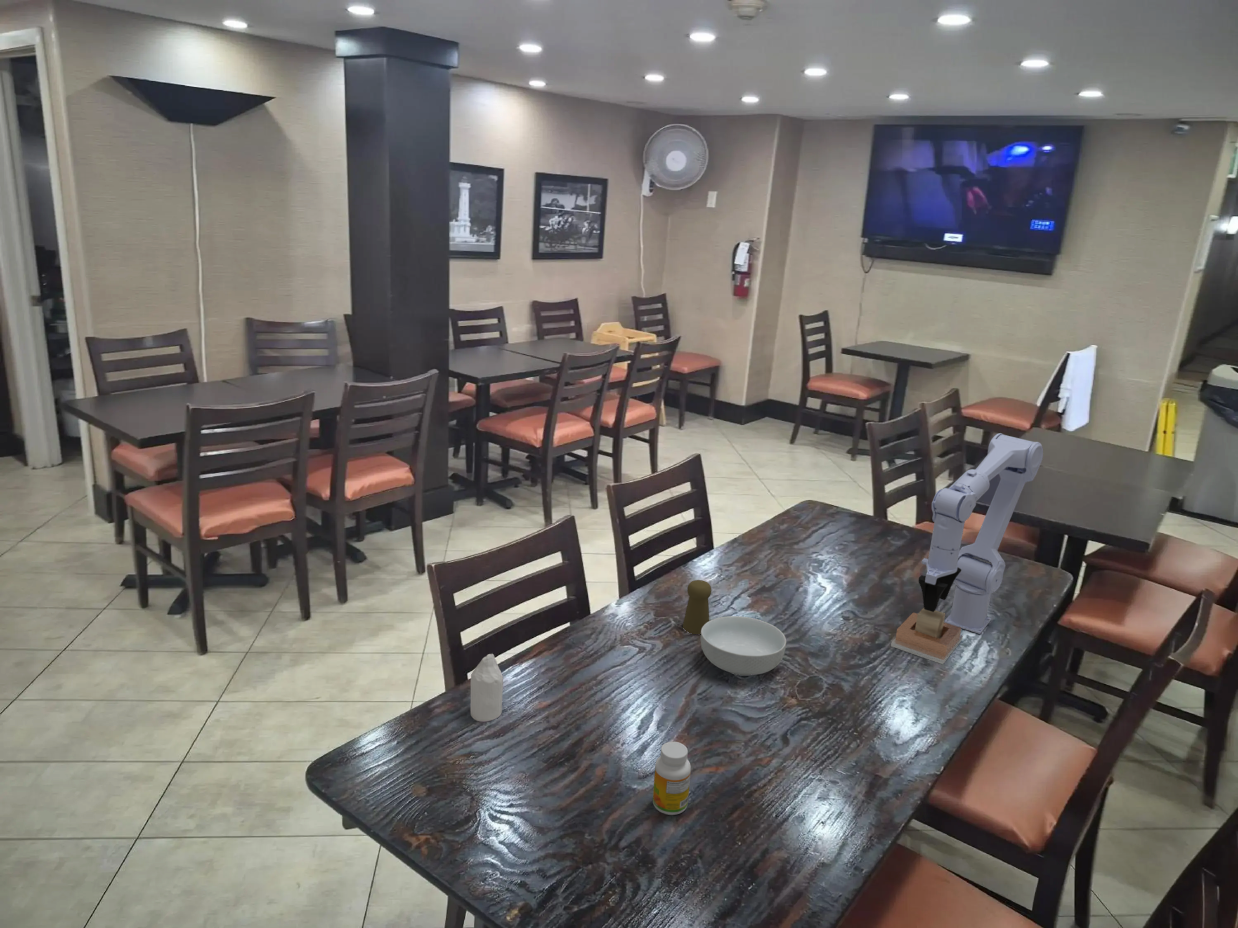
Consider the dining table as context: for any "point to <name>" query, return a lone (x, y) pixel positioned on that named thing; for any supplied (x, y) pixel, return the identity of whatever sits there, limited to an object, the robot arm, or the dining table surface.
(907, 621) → the orange-brown socket block
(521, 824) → the dining table surface
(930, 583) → the robot arm
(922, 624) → the birch block
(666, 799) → the supplement bottle
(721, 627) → the cereal bowl
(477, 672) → the grey pointed cylinder
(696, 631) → the olive salt shaker
